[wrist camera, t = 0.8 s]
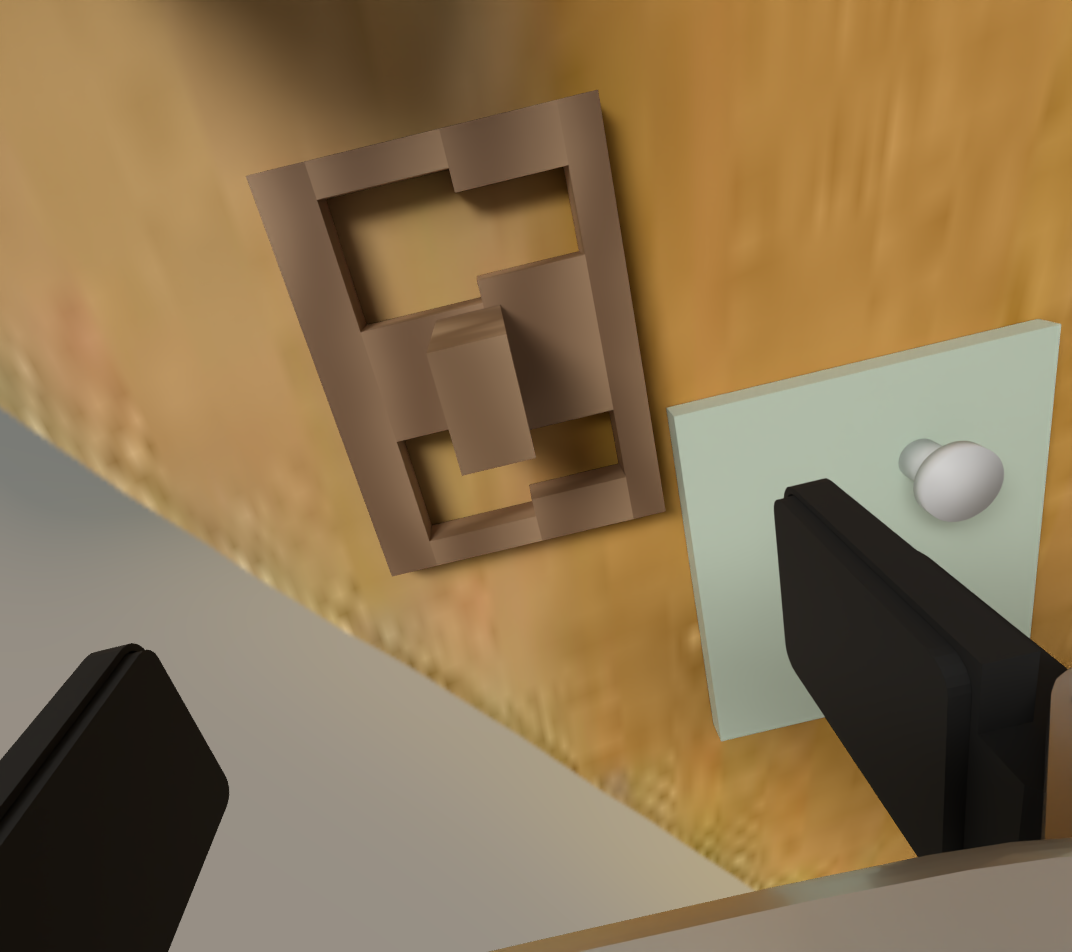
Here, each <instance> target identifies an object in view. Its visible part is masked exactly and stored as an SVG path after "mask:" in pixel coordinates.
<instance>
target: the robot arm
mask: <svg viewBox="0 0 1072 952" xmlns="http://www.w3.org/2000/svg"><path fill="white" fill-rule="evenodd" d="M774 520H775V531H776V543H777V554H778V566H779V577H780V589H781V600H782V612H783V623H784V635H785V645H786V651H787V655H788V658H789V661H790V663H791V666H792V668H793V669H794V671H795V673H796V674H797V676H798V677H799V679H800V680H801V682H802V683H803V685H804V686H805V688H806V689H807V691H808V692H809V694H810V695H811V697H812V698H813V700H814V701H815V703H816V704H817V706H818V707H819V709H820V710H821V712H822V713H823V715H824V716H825V718H826V719H827V721H828V722H829V724H830V725H831V727H832V728H833V730H834V731H835V733H836V735H837V736H838V738H839V739H840V741H841V742H842V744H843V745H844V747H845V748H846V750H847V751H848V753H849V754H850V756H851V757H852V759H853V760H854V762H855V763H856V765H857V766H858V768H859V769H860V771H861V772H862V774H863V775H864V777H865V778H866V780H867V781H868V783H869V784H870V786H871V787H872V789H873V790H874V792H875V793H876V795H877V796H878V798H879V799H880V801H881V802H882V804H883V805H884V807H885V808H886V810H887V811H888V813H889V814H890V816H891V817H892V819H893V820H894V822H895V823H896V825H897V826H898V828H899V829H900V831H901V832H902V834H903V835H904V837H905V838H906V840H907V841H908V843H909V844H910V846H911V847H912V849H913V850H914V852H915V853H916V855H917V856H918V857H917V858H912V859H907V860H902V861H898V862H893V863H888V864H883V865H878V866H873V867H869V868H864V869H859V870H854V871H849V872H844V873H839V874H835V875H830V876H825V877H820V878H815V879H810V880H806V881H801V882H796V883H791V884H786V885H781V886H777V887H772V888H767V889H763V890H759V891H754V892H750V893H745V894H741V895H736V896H732V897H727V898H723V899H719V900H715V901H710V902H705V903H701V904H696V905H692V906H688V907H683V908H679V909H674V910H670V911H665V912H661V913H657V914H652V915H648V916H643V917H639V918H635V919H630V920H626V921H621V922H617V923H613V924H608V925H603V926H599V927H595V928H590V929H586V930H581V931H577V932H573V933H568V934H564V935H559V936H555V937H550V938H546V939H541V940H537V941H533V942H528V943H524V944H520V945H516V946H511V947H507V948H502V949H498V950H494V951H489V952H1072V668H1069V669H1067V668H1066V667H1064V666H1063V665H1062V664H1061V663H1059V662H1058V661H1057V660H1056V659H1054V658H1053V657H1052V656H1051V655H1050V654H1048V653H1047V652H1046V651H1045V650H1043V649H1042V648H1041V647H1040V646H1038V645H1037V644H1036V643H1035V642H1033V641H1032V640H1031V639H1030V638H1028V637H1027V636H1026V635H1025V634H1024V633H1022V632H1021V631H1020V630H1019V629H1017V628H1016V627H1015V626H1014V625H1012V624H1011V623H1010V622H1009V621H1007V620H1006V619H1005V618H1004V617H1002V616H1001V615H1000V614H999V613H997V612H996V611H995V610H994V609H993V608H991V607H990V606H989V605H988V604H986V603H985V602H984V601H983V600H981V599H980V598H979V597H978V596H976V595H975V594H974V593H973V592H971V591H970V590H969V589H968V588H967V587H965V586H964V585H963V584H962V583H960V582H959V581H958V580H957V579H955V578H954V577H953V576H952V575H950V574H949V573H948V572H947V571H945V570H944V569H943V568H942V567H941V566H939V565H938V564H937V563H936V562H934V561H933V560H932V559H931V558H929V557H928V556H926V555H925V554H923V553H921V552H920V551H917V550H916V549H915V548H913V547H912V546H911V545H910V544H909V543H907V542H906V541H905V540H904V539H902V538H901V537H900V536H899V535H898V534H896V533H895V532H894V531H893V530H891V529H890V528H889V527H888V526H886V525H885V524H884V523H883V522H882V521H880V520H879V519H878V518H877V517H875V516H874V515H873V514H872V513H870V512H869V511H868V510H867V509H866V508H864V507H863V506H862V505H861V504H859V503H858V502H857V501H856V500H854V499H853V498H852V497H851V496H850V495H848V494H847V493H846V492H845V491H843V490H842V489H841V488H840V487H839V486H837V485H836V484H835V483H834V482H832V481H831V480H829V479H827V478H824V479H819V480H815V481H811V482H807V483H803V484H798V485H794V486H790V487H787V488H786V490H785V492H784V498H782V499H778V500H776V501H775V502H774ZM228 799H229V786H228V781H227V779H226V776H225V774H224V773H223V771H222V769H221V767H220V766H219V764H218V762H217V760H216V759H215V757H214V755H213V753H212V751H211V750H210V748H209V746H208V745H207V743H206V741H205V739H204V737H203V736H202V734H201V732H200V730H199V729H198V727H197V725H196V723H195V722H194V720H193V718H192V716H191V714H190V713H189V711H188V709H187V707H186V706H185V704H184V702H183V700H182V699H181V697H180V695H179V693H178V692H177V690H176V688H175V686H174V684H173V683H172V681H171V679H170V677H169V676H168V674H167V672H166V670H165V669H164V667H163V665H162V663H161V662H160V660H159V658H158V657H157V655H156V654H155V653H154V652H152V651H151V650H144V648H142V647H141V646H140V645H138V644H133V643H131V644H127V645H123V646H119V647H115V648H110V649H106V650H102V651H98V652H94V653H91V654H90V655H89V656H87V657H86V658H85V659H84V660H83V662H82V663H81V664H80V665H79V666H78V668H77V669H76V670H75V671H74V672H73V674H72V675H71V676H70V677H69V679H68V680H67V681H66V682H65V683H64V684H63V686H62V687H61V688H60V689H59V690H58V692H57V693H56V694H55V696H53V698H52V699H51V700H50V701H49V703H48V704H47V705H46V706H45V707H44V709H43V710H42V711H41V712H40V713H39V715H38V716H37V717H36V718H35V719H34V720H33V722H32V723H31V724H30V725H29V727H28V728H27V729H26V730H25V731H24V733H23V734H22V735H21V736H20V737H19V739H18V740H17V741H16V742H15V743H14V744H13V746H12V747H11V748H10V749H9V750H8V752H7V753H6V754H5V756H3V758H2V759H1V760H0V952H168V950H169V948H170V945H171V943H172V941H173V938H174V935H175V933H176V931H177V928H178V926H179V923H180V921H181V918H182V916H183V913H184V911H185V908H186V906H187V903H188V901H189V898H190V896H191V893H192V891H193V888H194V886H195V883H196V881H197V879H198V876H199V874H200V871H201V868H202V866H203V864H204V861H205V859H206V856H207V854H208V851H209V849H210V846H211V844H212V841H213V839H214V836H215V834H216V831H217V829H218V826H219V824H220V822H221V819H222V816H223V814H224V812H225V809H226V807H227V803H228Z"/></svg>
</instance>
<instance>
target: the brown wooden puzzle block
mask: <svg viewBox="0 0 1072 952" xmlns="http://www.w3.org/2000/svg"><path fill="white" fill-rule="evenodd" d="M559 167H564V173H565V178H566V183H567V189H568V194H569V200H570V205H571V210H572V216H573V221H574V226H575V232H576V237H577V242H578V248H579V251H578V252H574V253H570V254H566V255H562V256H557V257H553V258H549V259H545V260H541V261H537V262H533V263H529V264H524V265H520V266H516V267H512V268H508V269H504V270H500V271H496V272H491V273H487V274H483V275H479V276H477V282H478V286H479V290H480V294H481V297H480V298H476V299H472V300H468V301H463V302H459V303H455V304H451V305H447V306H443V307H439V308H434V309H430V310H426V311H422V312H418V313H414V314H410V315H406V316H401V317H397V318H393V319H389V320H385V321H381V322H377V323H372V324H368V325H367V324H366V321H365V318H364V315H363V312H362V309H361V306H360V303H359V300H358V297H357V294H356V291H355V288H354V284H353V281H352V278H351V275H350V272H349V269H348V266H347V263H346V260H345V257H344V254H343V251H342V247H341V244H340V241H339V238H338V235H337V232H336V229H335V226H334V223H333V220H332V217H331V214H330V211H329V207H328V204H327V201H326V199H329V198H333V197H337V196H341V195H346V194H350V193H354V192H358V191H362V190H366V189H370V188H374V187H378V186H382V185H386V184H391V183H395V182H399V181H403V180H407V179H411V178H415V177H419V176H423V175H427V174H431V173H436V172H440V171H444V170H448V169H449V171H450V175H451V179H452V183H453V187H454V191H455V193H456V192H461V191H465V190H469V189H473V188H477V187H481V186H485V185H489V184H493V183H497V182H502V181H506V180H510V179H514V178H518V177H522V176H526V175H530V174H534V173H538V172H543V171H547V170H551V169H555V168H559ZM246 178H247V181H248V183H249V186H250V189H251V192H252V194H253V197H254V200H255V203H256V205H257V208H258V211H259V214H260V216H261V219H262V222H263V224H264V227H265V230H266V233H267V235H268V238H269V241H270V244H271V246H272V249H273V252H274V255H275V257H276V260H277V263H278V266H279V268H280V271H281V274H282V276H283V279H284V282H285V285H286V287H287V290H288V293H289V296H290V298H291V301H292V304H293V307H294V309H295V312H296V315H297V318H298V320H299V323H300V326H301V329H302V331H303V334H304V337H305V339H306V342H307V345H308V348H309V350H310V353H311V356H312V359H313V361H314V364H315V367H316V370H317V372H318V375H319V378H320V381H321V383H322V386H323V389H324V391H325V394H326V397H327V400H328V402H329V405H330V408H331V411H332V413H333V416H334V419H335V422H336V424H337V427H338V430H339V433H340V435H341V438H342V441H343V443H344V446H345V449H346V452H347V454H348V457H349V460H350V463H351V465H352V468H353V471H354V474H355V476H356V479H357V482H358V485H359V487H360V490H361V493H362V496H363V498H364V501H365V504H366V506H367V509H368V512H369V515H370V517H371V520H372V523H373V526H374V528H375V531H376V534H377V537H378V539H379V542H380V545H381V548H382V550H383V553H384V556H385V558H386V561H387V564H388V567H389V569H390V572H391V575H392V576H396V575H400V574H404V573H408V572H412V571H417V570H421V569H425V568H429V567H434V566H438V565H442V564H446V563H450V562H455V561H459V560H463V559H467V558H471V557H476V556H480V555H484V554H488V553H492V552H497V551H501V550H505V549H509V548H513V547H518V546H522V545H526V544H530V543H535V542H539V541H543V540H547V539H551V538H556V537H560V536H564V535H568V534H572V533H577V532H581V531H585V530H589V529H593V528H598V527H602V526H606V525H610V524H614V523H619V522H623V521H627V520H631V519H636V518H640V517H644V516H648V515H652V514H657V513H661V512H665V504H664V498H663V492H662V486H661V479H660V473H659V467H658V461H657V454H656V448H655V442H654V436H653V430H652V423H651V417H650V411H649V405H648V398H647V392H646V386H645V380H644V373H643V367H642V361H641V355H640V349H639V342H638V336H637V330H636V324H635V317H634V311H633V305H632V299H631V293H630V286H629V280H628V274H627V268H626V261H625V255H624V249H623V243H622V236H621V230H620V224H619V218H618V212H617V205H616V199H615V193H614V187H613V180H612V174H611V168H610V162H609V155H608V149H607V143H606V137H605V131H604V124H603V118H602V112H601V106H600V99H599V93H598V90H595V91H590V92H586V93H582V94H578V95H574V96H570V97H566V98H562V99H558V100H554V101H550V102H546V103H541V104H537V105H533V106H529V107H525V108H521V109H517V110H513V111H509V112H505V113H501V114H497V115H492V116H488V117H484V118H480V119H476V120H472V121H468V122H464V123H460V124H456V125H452V126H448V127H444V128H439V129H435V130H431V131H427V132H423V133H419V134H415V135H411V136H407V137H403V138H399V139H395V140H390V141H386V142H382V143H378V144H374V145H370V146H366V147H362V148H358V149H354V150H350V151H346V152H341V153H337V154H333V155H329V156H325V157H321V158H317V159H313V160H309V161H305V162H301V163H297V164H293V165H288V166H284V167H280V168H276V169H272V170H268V171H264V172H260V173H256V174H252V175H248V176H246ZM606 411H609V414H610V419H611V425H612V430H613V435H614V441H615V446H616V451H617V457H618V462H619V464H615V465H611V466H607V467H602V468H598V469H594V470H590V471H586V472H581V473H577V474H573V475H569V476H565V477H560V478H556V479H552V480H548V481H544V482H540V483H535V484H531V485H529V486H530V492H531V497H532V501H531V502H527V503H523V504H519V505H515V506H510V507H506V508H502V509H498V510H494V511H489V512H485V513H481V514H477V515H473V516H468V517H464V518H460V519H456V520H452V521H447V522H443V523H439V524H435V525H431V522H430V518H429V515H428V512H427V509H426V506H425V503H424V500H423V497H422V494H421V491H420V488H419V485H418V482H417V478H416V475H415V472H414V469H413V466H412V463H411V460H410V457H409V454H408V451H407V448H406V445H405V441H404V440H407V439H411V438H415V437H419V436H423V435H428V434H432V433H436V432H440V431H444V430H448V429H449V433H450V436H451V440H452V443H453V446H454V450H455V453H456V457H457V460H458V463H459V467H460V470H461V474H462V476H463V475H467V474H471V473H475V472H479V471H484V470H488V469H492V468H496V467H500V466H504V465H509V464H513V463H517V462H521V461H525V460H530V459H534V458H536V455H535V451H534V447H533V442H532V438H531V433H530V430H531V429H535V428H539V427H544V426H548V425H552V424H556V423H560V422H564V421H569V420H573V419H577V418H581V417H585V416H590V415H594V414H598V413H602V412H606Z"/></svg>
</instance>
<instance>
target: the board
mask: <svg viewBox="0 0 1072 952" xmlns="http://www.w3.org/2000/svg"><path fill="white" fill-rule="evenodd" d="M1060 331H1061V324H1059V323H1054V322H1050V321H1046V320H1041V319H1035V320H1031V321H1027V322H1023V323H1019V324H1014V325H1010V326H1006V327H1002V328H998V329H994V330H989V331H985V332H981V333H977V334H973V335H968V336H964V337H960V338H956V339H952V340H948V341H943V342H939V343H935V344H931V345H927V346H923V347H918V348H914V349H910V350H906V351H902V352H897V353H893V354H889V355H885V356H881V357H877V358H872V359H868V360H864V361H860V362H856V363H851V364H847V365H843V366H839V367H835V368H831V369H826V370H822V371H818V372H814V373H810V374H806V375H801V376H797V377H793V378H789V379H785V380H780V381H776V382H772V383H768V384H764V385H760V386H755V387H751V388H747V389H743V390H739V391H735V392H730V393H726V394H722V395H718V396H714V397H709V398H705V399H701V400H697V401H693V402H689V403H684V404H680V405H676V406H672V407H668V408H666V410H667V416H668V423H669V430H670V436H671V443H672V450H673V456H674V463H675V470H676V476H677V483H678V490H679V497H680V503H681V510H682V517H683V523H684V530H685V537H686V543H687V550H688V557H689V563H690V570H691V577H692V583H693V590H694V597H695V604H696V610H697V617H698V624H699V630H700V637H701V644H702V650H703V657H704V664H705V670H706V677H707V684H708V691H709V697H710V704H711V711H712V717H713V724H714V726H715V729H716V731H717V733H718V735H719V738H720V740H721V741H725V740H729V739H733V738H738V737H742V736H746V735H751V734H755V733H759V732H763V731H768V730H772V729H776V728H781V727H785V726H789V725H793V724H798V723H802V722H806V721H811V720H815V719H819V718H823V717H825V716H824V715H823V713H822V712H821V710H820V709H819V707H818V706H817V704H816V703H815V701H814V700H813V698H812V697H811V695H810V694H809V692H808V691H807V689H806V688H805V686H804V685H803V683H802V682H801V680H800V679H799V677H798V676H797V674H796V673H795V671H794V669H793V668H792V666H791V663H790V661H789V658H788V655H787V651H786V645H785V635H784V623H783V612H782V600H781V589H780V577H779V566H778V554H777V543H776V531H775V520H774V502H775V501H776V500H778V499H782V498H784V492H785V490H786V488H787V487H790V486H794V485H798V484H803V483H807V482H811V481H815V480H819V479H824V478H827V479H829V480H831V481H832V482H834V483H835V484H836V485H837V486H839V487H840V488H841V489H842V490H843V491H845V492H846V493H847V494H848V495H850V496H851V497H852V498H853V499H854V500H856V501H857V502H858V503H859V504H861V505H862V506H863V507H864V508H866V509H867V510H868V511H869V512H870V513H872V514H873V515H874V516H875V517H877V518H878V519H879V520H880V521H882V522H883V523H884V524H885V525H886V526H888V527H889V528H890V529H891V530H893V531H894V532H895V533H896V534H898V535H899V536H900V537H901V538H902V539H904V540H905V541H906V542H907V543H909V544H910V545H911V546H912V547H913V548H915V549H916V550H917V551H920V552H921V553H923V554H925V555H926V556H928V557H929V558H931V559H932V560H933V561H934V562H936V563H937V564H938V565H939V566H941V567H942V568H943V569H944V570H945V571H947V572H948V573H949V574H950V575H952V576H953V577H954V578H955V579H957V580H958V581H959V582H960V583H962V584H963V585H964V586H965V587H967V588H968V589H969V590H970V591H971V592H973V593H974V594H975V595H976V596H978V597H979V598H980V599H981V600H983V601H984V602H985V603H986V604H988V605H989V606H990V607H991V608H993V609H994V610H995V611H996V612H997V613H999V614H1000V615H1001V616H1002V617H1004V618H1005V619H1006V620H1007V621H1009V622H1010V623H1011V624H1012V625H1014V626H1015V627H1016V628H1017V629H1019V630H1020V631H1021V632H1022V633H1024V634H1025V635H1026V636H1027V637H1028V638H1030V634H1031V624H1032V614H1033V603H1034V593H1035V583H1036V573H1037V563H1038V553H1039V543H1040V533H1041V523H1042V513H1043V502H1044V492H1045V482H1046V472H1047V462H1048V452H1049V442H1050V432H1051V422H1052V412H1053V401H1054V391H1055V381H1056V371H1057V361H1058V351H1059V341H1060Z"/></svg>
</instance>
